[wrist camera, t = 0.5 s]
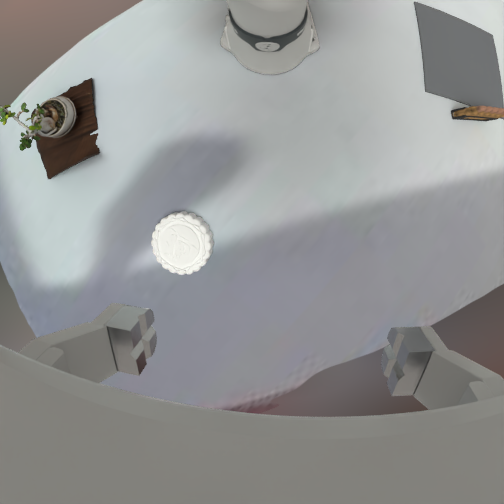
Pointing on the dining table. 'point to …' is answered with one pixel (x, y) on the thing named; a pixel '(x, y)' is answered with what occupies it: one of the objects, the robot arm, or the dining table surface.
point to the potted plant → (61, 128)
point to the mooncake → (182, 242)
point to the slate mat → (458, 59)
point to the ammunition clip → (478, 113)
